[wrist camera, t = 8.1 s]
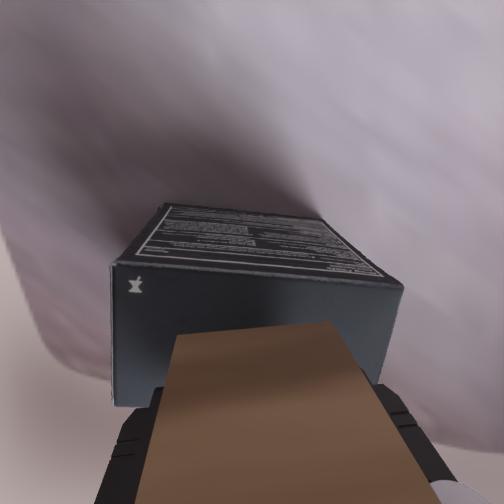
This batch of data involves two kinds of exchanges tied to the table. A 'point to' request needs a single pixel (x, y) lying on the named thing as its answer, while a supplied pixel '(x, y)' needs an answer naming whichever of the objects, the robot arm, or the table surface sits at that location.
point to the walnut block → (275, 425)
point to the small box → (239, 289)
